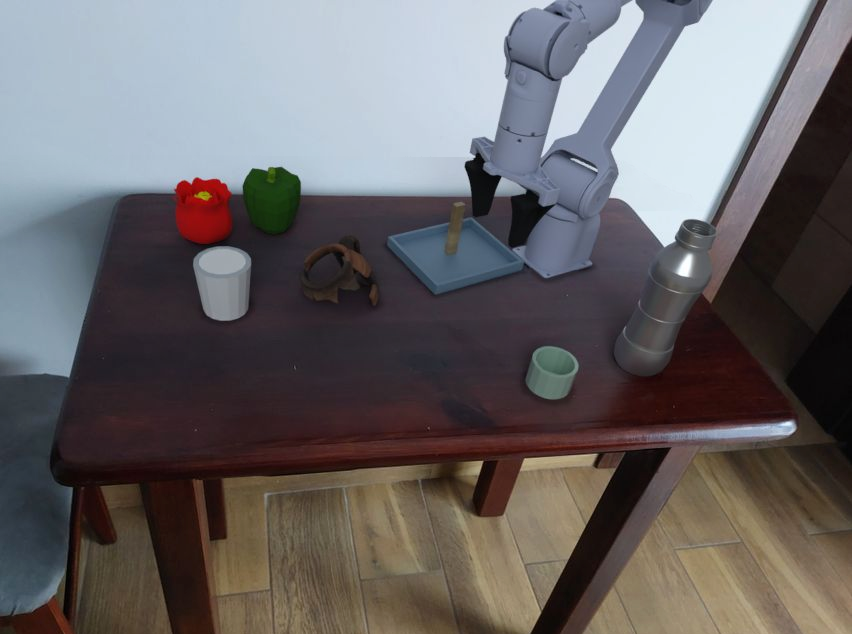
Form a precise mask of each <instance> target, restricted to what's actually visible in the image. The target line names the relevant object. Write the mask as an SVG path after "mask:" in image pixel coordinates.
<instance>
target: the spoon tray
mask: <svg viewBox="0 0 852 634" xmlns="http://www.w3.org/2000/svg"><path fill="white" fill-rule="evenodd" d="M449 223H450V221H449V222H445V223H440V224H436V225H431V226H428V227H423V228H419V229H415V230H414V229H413V230H410V231H406V232H401V233H397V234H393V235H389V236H387V241H386V242H387V243H386V246H387V248H388V249H389V250H391V252H392V253H394V255H395V256H396V257H397V258H398V259H399V260H400V261H401V262H402V263H403V264H404V265H405V266H406V267H407V268H408V269H409V270H410V271H411V272H412V273H413V274H414V275H415V276H416V277H417V278H418V279H419V280H420V281H421V282H422V283H423V284H424V286H425V287H426V288H428V289H429V291H430V292H432V294H433V295H434V296H437V295H441V294H444V293H447V292H451V291H455V290H458V289H462V288H465V287H469V286H472V285H475V284H476V285H477V284H479V283H483V282H486V281H490V280H493V279H497V278H500V277H504V276H507V275H510V274H514V273H518V272H521V271H523V268H524V264H525V263H524V261H523V260H522V259H521V258H519V257H518V256H517V255H516V254H515V253H513V252H512V249H510V248H509V247H507V245H506V244H504V243H503V241H501V240H499V239H498V238H497V237H496V236H494V235H493V234H492V233H491V232H490V231H489V230H487V229H486V228H485V227H484V226H483V225H481V224H480V223H479V222H478V221H477V220H476V219H474V218H473V217H472V216H470V217H467V218H463V222H462V227H461V232H460V237H459V243H458V248H457V253H454V254H450V255H447V254H446V253H445V252H444V251H445V245H446V240H447V234H448V228H449Z"/></svg>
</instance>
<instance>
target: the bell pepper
mask: <svg viewBox="0 0 852 634" xmlns="http://www.w3.org/2000/svg"><path fill="white" fill-rule="evenodd" d="M241 187H242V198H243V199H242V200H243V202H244V206H245V210H246V213H247V217H248V219H249V221H250V222H251V223H252V225H253V226H255V227H256V228H259V229H260V230H261V231H263V232H264V233H266V234H274V235H277V234H282V233H283V234H284V233H285V232H287V230H288V229H289V228H290V227H291V226H292V224H293V222H294V220H295V219H296V216H297V213H298V211H299V207H300V204H301V195H302V183H301V180H300V177H299V175H298V174H294V173H291V171H289V170H288V169H286V168H284V167H283V166H276V167H274V166H268V168H267V170H266V169H261V168H254V167H252V168H251V169H250V170H249V172H248V173H247V175H246V177H245V178H244V180H243V183H242V186H241Z"/></svg>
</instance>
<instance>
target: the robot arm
mask: <svg viewBox="0 0 852 634" xmlns="http://www.w3.org/2000/svg"><path fill="white" fill-rule="evenodd" d="M632 1H633V0H554V1H553V2H551V3H550V4H548V5H547V6H546V7H544V8H543V9H541V8H539V7H531V8H529V9H527V10H524V11H522V12H520V13H519V14H518V16H516V18H514V20H513V22H512V23H511V25H510V27H509V30H508V33H507V35H506V36H504V41H503V54H504V57H505V68H504V76H505V79H506V80H507V82H506V87H505V91H504V96H503V100H502V104H501V109H500V114H499V117H498V123H497V128H496V131H495V136H494V139H493V140H492V139H490V138H488V137H487V136H479V137H472V139H471V143H470V148H469V153H470V154H471V155H472V156H474V157H473V159H469V160H466V161H465V163H464V166H463V167H464V170H465V172H466V175H467V178H468V183H469V188H470V195H471V213H472V216H473V217H474V218H480V217H485V216H488V215H489V213H490V211H491V208H492V206H493V202H494V199H495V196H496V191H497V189H498V187H499V184H500V182H501V179H502V178H504V179H507V180H508V181H511V182H513V183H516V184H517V185H518V186H520V187H521V188H523V189H524V190H525V193H521V194H516V195H511V196H510V199H509V200H510V205H511V224H510V230H509V234H508V238H507V239H508V241H507V245H508V246H509V247H510V248H512V249H511V251H512V252H513V253H515V254H516V255H517V256H518V257H519V258H521V259H522V260H523V261H524V264H525V265H526V266H527V267H529V268H530V269H533V270H534V271H535V272H536V273H538V274H539V275H540V276H541V277H542V278H544V279H549V278H552V277H555V276H559V275H562V274H566V273H569V272H573V271H579V270H582V269H583V270H584V269H586V268H590V267H592V266H593V262H592V261H591V260H590V257H591V254H592V251H593V248H594V246H595V243H596V241H597V237H598V234H599V231H600V228H601V214H600V212H601V211H602V210H603V209H604V207H605V206H606V204H607V202H608V201H609V200H610V199H609V198H610V197H611V194H612V189H613V187H614V185H615V183H616V181H617V179H618V178H619V174H620V173H619V167H618V164H617V161H616V159H615V157H614V154H613V151H612V148H613V147H614V145H615V143H616V142H617V140H618V139H619V137H620V135H621V133H622V132H623V130H624V128H626V125H627V124H628V122H629V120H630V118H631V117H632V115H633V114H634V112H635V111H636V109H637V107H638V106H639V104H640V102H641V101H642V98H643V97H644V95H645V94H646V93H647V90H648V89H649V88H650V85H651V84H652V82H653V80H654V79H655V78H656V75H657V74H658V72H659V71H660V69H661V67H662V66H663V64H664V63H665V60H666V59H667V57H668V56H669V54H670V52H671V51H672V49H673V47H674V46H675V44H676V42H677V41H678V39H679V37H680V35H681V34H682V33H683V31H684V29H685V28H686V27H688V26H691V25H695V24H698V23H699V22H700V21H701V19H702V17H703V16H704V15H705V14H706V13H707V11H708V9H709V7H710V6H711V4H712V2H713V1H714V0H635V4H636V6H637V7H638V8H639V9H640V10H641V11H642V13H643V19H642V21H641V23H640V25H639V26H638V28H637V30H636V32H635V33H634V35H633V36H632V38H631V40H630V42H629V43H628V46H627V47H626V49H625V51H624V52H623V54H622V56H621V57H620V59H619V61H618V63H617V64H616V65H615V68H614V69H613V71H612V73H611V74H610V77H609V78H608V80H607V81H606V83H605V85H604V87H603V88H602V89H601V92H600V93H599V95H598V96H597V98H596V100H595V102H594V103H593V105H592V107H591V109H590V110H589V112H588V114H587V115H586V117H585V119H584V121H583V122H582V123H581V125H580V127H579V129H578V131H577V132H575V133H573V134H568V135H566V136H563V137H559V138H557V139H555V140H554V141H553V142H552V144H551V146H550V147H549V149H548V150H547V151H546V153H545V154H544V155H542V154H543V151H544V147H545V143H546V140H547V135H548V133H549V129H550V126H551V121H552V118H553V114H554V111H555V107H556V103H557V99H558V96H559V93H560V89H561V85H562V82H563V78H564V77H567V76H569V75H570V74H571V72H572V71H573V69H574V68H575V67H576V65H577V64H578V62H579V60H580V58H581V57H582V56H583V55H584V54H585V53H586V51H587V49H588V45H589V44H591V43H592V42H593V41H595V40H596V39H597V38H599V37H600V36H601V35H603V34H604V33H605V32H607V31H608V30H609V29H611V28H612V27H613V26H614V25H616V24H617V22H618V20H619V18H620V16H621V12H622V7H624V6H625V5H627V4H629V3H631V2H632ZM575 160H577V161H575ZM578 161H579V162H581V163H584V164H585V165H583V164H581V163H579V162H578ZM586 165H588V166H589V167H588V166H586ZM590 167H591V168H590ZM592 168H594V169H596V170H597V171H596V170H594V169H592ZM526 241H527V242H526ZM525 243H526V244H525Z"/></svg>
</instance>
